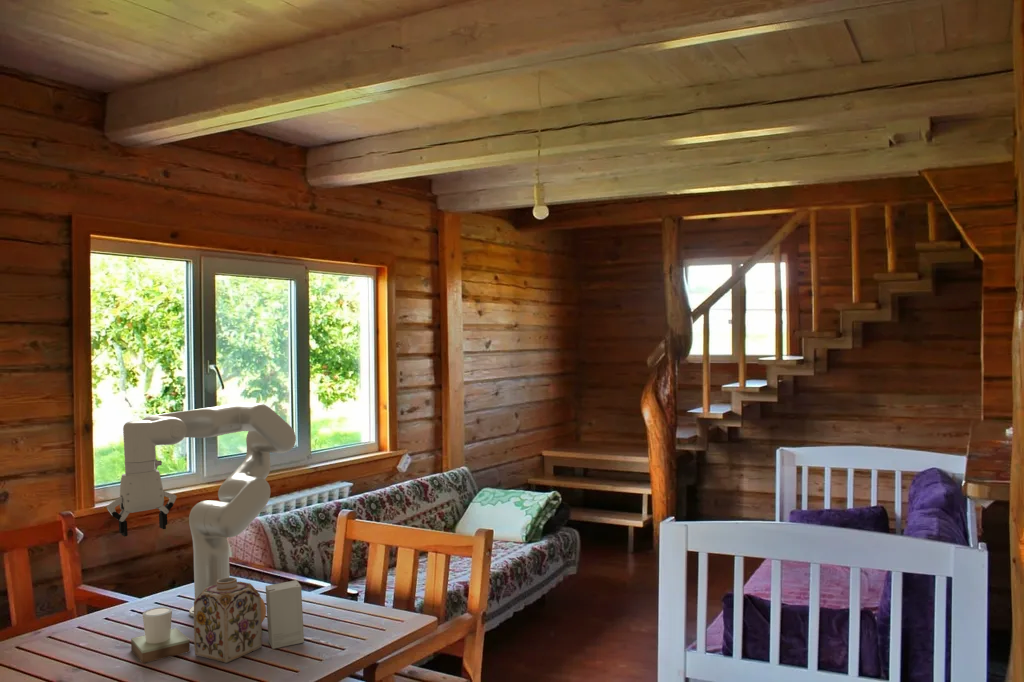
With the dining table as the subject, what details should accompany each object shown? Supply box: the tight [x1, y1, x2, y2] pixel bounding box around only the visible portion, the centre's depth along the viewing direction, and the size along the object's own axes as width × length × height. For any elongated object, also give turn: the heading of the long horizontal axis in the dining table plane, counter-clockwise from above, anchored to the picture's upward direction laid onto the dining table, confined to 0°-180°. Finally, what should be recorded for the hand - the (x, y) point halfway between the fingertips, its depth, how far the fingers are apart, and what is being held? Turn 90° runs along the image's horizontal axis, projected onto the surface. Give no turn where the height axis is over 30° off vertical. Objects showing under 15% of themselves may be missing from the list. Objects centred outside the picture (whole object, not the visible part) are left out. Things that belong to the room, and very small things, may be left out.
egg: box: [260, 596, 267, 624], centre depth 220 cm, size 7×7×9 cm
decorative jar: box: [193, 577, 263, 664], centre depth 203 cm, size 12×12×18 cm
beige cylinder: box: [142, 606, 173, 643], centre depth 204 cm, size 7×7×7 cm
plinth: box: [130, 627, 191, 664], centre depth 204 cm, size 11×11×3 cm
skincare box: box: [265, 579, 305, 650], centre depth 208 cm, size 8×6×15 cm
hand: (143, 531), depth 216 cm, fingers open, 9 cm apart
